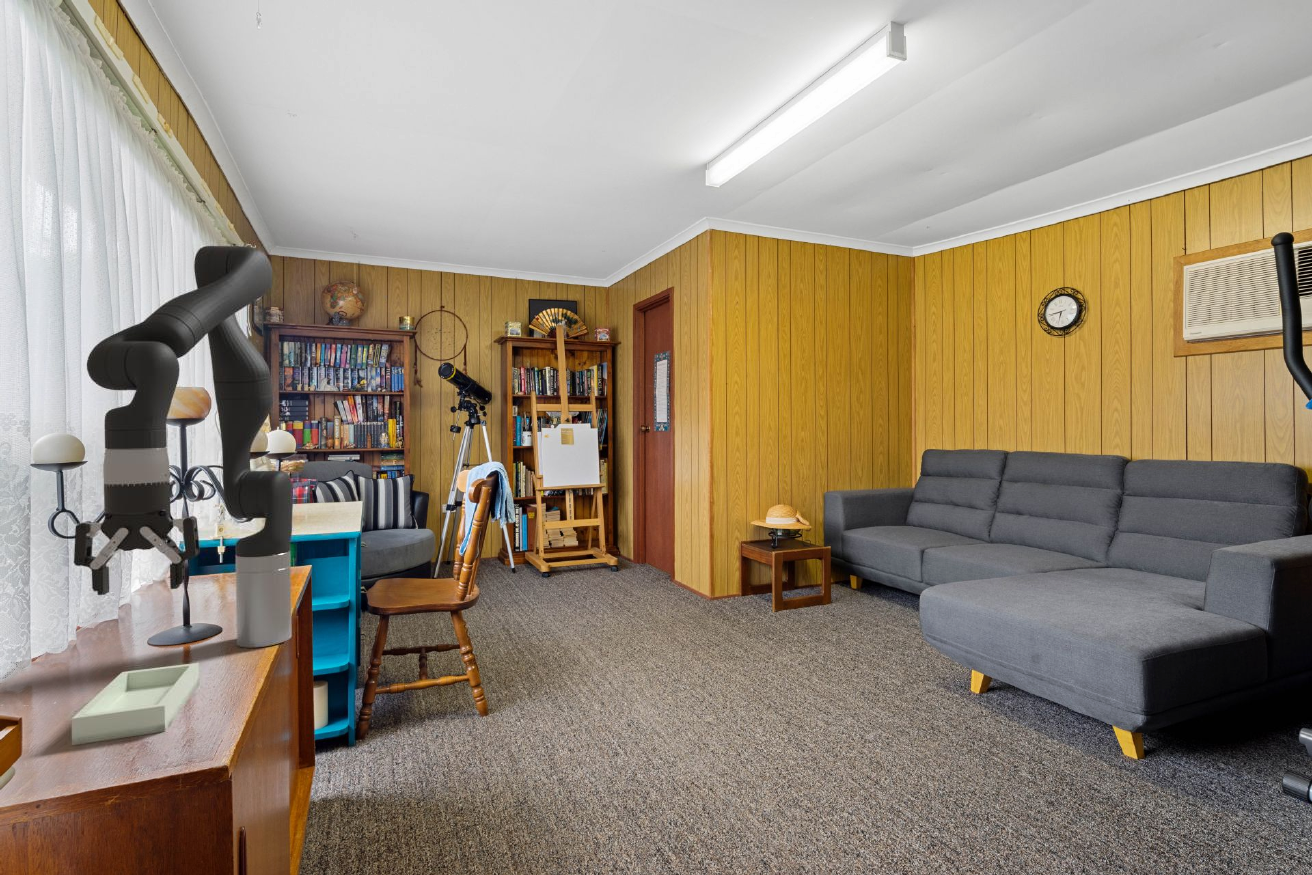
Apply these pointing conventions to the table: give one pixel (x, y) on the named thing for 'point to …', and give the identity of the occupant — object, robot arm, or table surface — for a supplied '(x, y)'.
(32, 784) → the table surface
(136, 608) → the table surface
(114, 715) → the tray
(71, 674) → the table surface
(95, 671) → the table surface
